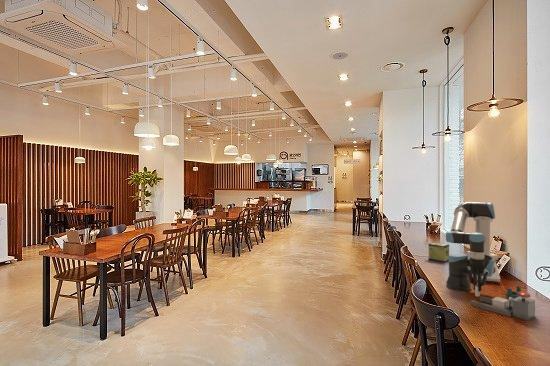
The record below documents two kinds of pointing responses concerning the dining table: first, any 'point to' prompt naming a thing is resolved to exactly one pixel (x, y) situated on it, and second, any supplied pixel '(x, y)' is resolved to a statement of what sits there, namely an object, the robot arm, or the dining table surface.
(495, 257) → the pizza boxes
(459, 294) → the dining table surface
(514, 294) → the green irregular piece
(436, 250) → the protein box
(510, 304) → the button station
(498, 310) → the guide rails
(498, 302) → the cube with cylindrical stub
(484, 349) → the dining table surface
